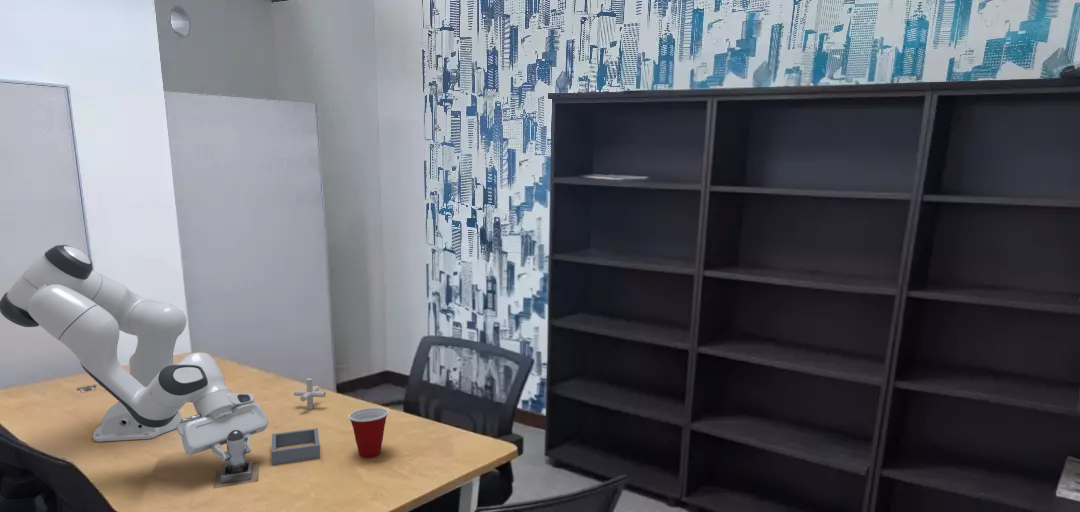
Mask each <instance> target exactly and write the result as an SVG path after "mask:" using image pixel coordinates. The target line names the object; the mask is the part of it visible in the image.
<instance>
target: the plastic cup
mask: <svg viewBox="0 0 1080 512" xmlns="http://www.w3.org/2000/svg"><path fill="white" fill-rule="evenodd" d="M388 415H389V409H388V408H384V407H366V408H365V407H364V408H361V409H360V408H359V409H357V410H354V411H352V412H351V413H349V414H348V416H347V417H348V420H350V422H351V426H352V430H353V434H354V439H355V443H356V446H357V452H358V455H359V456H360V457H361V458H364V459H371V458H375V457H377V456H379V455H380V454H381V451H382V444H383V440H384V432H385V427H386V420H387V417H388Z"/></svg>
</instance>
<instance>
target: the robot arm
mask: <svg viewBox="0 0 1080 512" xmlns="http://www.w3.org/2000/svg"><path fill="white" fill-rule="evenodd" d="M0 314H1V315H2V316H3V317H4V318H5V319H6V320H9V321H10V322H11V323H14V324H15V325H18V326H20V327H24V328H36V327H39V326H40V327H41V328H42V329H43V330H45V331H46V333H48V334H49V335H51V336H52V337H53V338H55V339H56V340H57V341H59V342H60V343H62V344H63V345H65V346H66V348H68V349H69V350H70V351H71V352H72V353H73V355H75V356H76V358H77V360H79V363H80V365H81V367H82V368H83V370H84V372H86V373H87V374H88V375H89V376H90V377H91V378H92V379H93V380H94V381H95V382H96V383H97V384H99V386H101V387H102V388H103V389H104V390H105V391H107V392H108V393H109V394H110V395H111V396H112V397H114V398H115V399H116V400H117V402H115V403H114V404H113V405H112V406H110V407H109V408H108V409H107V410H106V412H105V414H104V415H103V418H102V422H101V423H102V424H100V425H99V426H98V427H97V428H96V429H95V430H94V432H93V433H92V434H93V436H92V437H93V438H92V439H93V441H95V442H98V443H99V442H113V441H114V442H115V441H116V442H117V441H118V442H119V441H132V440H133V441H134V440H149V439H154V438H156V437H158V436H160V435H162V434H165V433H168V432H171V431H173V430H175V429H176V431H177V432H178V435H179V436H181V437H180V438H181V443H182V445H183V449H184V452H185V454H187V455H190V456H192V455H195V454H199V453H201V452H205V451H208V450H212V453H214V454H215V455H217V456H218V457H220V459H221V462H222V463H224V462H228V460H229V459H230V455H229V452H228V451H227V450H226V451H224V450H223V449H221V446H223V445H227V437H228V434H229V433H230V432H231V431H233V430H240V431H241V432H242V433H243V436H244V442H245V455H247V454H250V453H251V452H252V447H251V444H250V443H251V438H252V436H253V435H256V434H259V433H262V432H264V431H265V430H266V429H267V428H268V425H269V418H268V416H267V415H266V413H265V411H264V410H263V408H262V407H261V405H260V404H259V403H257V402H254V401H255V396H254V394H252V393H234V392H231V391H230V389H229V388H228V387H227V386H226V382H225V377H224V375H223V373H222V370H221V368H220V367H219V365H218V363H217V362H216V360H215V359H214V358H213V357H212V356H211V355H210V354H208V353H207V352H194V353H190V354H188V355H187V354H186V355H185V356H184V357H183V358H182V359H181V360H180V361H178V363H175V364H174V352H175V351H174V350H175V347H176V342H177V339H178V337H179V336H180V335H182V333H183V332H184V330H185V329H186V327H187V317H186V314H185V313H184V311H183V310H182V309H180V308H179V307H177V306H175V305H173V304H171V303H168V302H164V301H158V300H153V299H150V298H146V297H142V296H141V295H139V294H137V293H134V292H133V291H131V290H130V289H129V288H128V287H127V286H126V285H124V284H123V283H120V282H117V281H115V280H114V279H112V278H109V277H107V276H105V275H104V274H101V273H100V272H97V271H95V270H94V268H93V262H92V260H91V259H90V258H89V257H88V256H87V255H86V253H84V252H83V251H82V250H80V249H78V248H75V247H72V246H71V245H70V246H69V245H67V244H59V245H54V246H52V247H51V248H50V249H48V250H47V251H45V252H44V255H42V256H41V257H40V258H38V259H37V260H36V261H35V262H33V263H32V264H31V265H30V266H29V267H28V268H27V269H26V270H25V271H23V274H22V275H21V276H20V277H19V278H18V279H17V281H15V283H14V284H13V285H12V286H11V288H9V291H7V292H5V293H4V294H3V296H2V298H1V299H0ZM120 332H123V333H125V334H128V335H132V336H136V338H137V344H136V349H135V351H134V353H133V354H132V355H131V356H130V357H129V361H128V364H129V365H128V366H129V372H128V371H127V370H126V369H125V368H124V367H123V366H122V365H121V363H120V361H119V358H118V346H119V345H118V344H119V340H120ZM187 403H192V405H193V407H194V409H195V412H196V415H193V416H189V417H185V418H182V416H181V413H180V410H181V409H182V408H183V407H184V405H185V404H187Z"/></svg>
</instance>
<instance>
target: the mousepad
mask: <svg viewBox="0 0 1080 512" xmlns="http://www.w3.org/2000/svg"><path fill="white" fill-rule="evenodd" d="M92 388H94V390H92ZM96 388H97V384H91V385H85V386H79V387H76V389H77V391H80V393H81V394H83V393H85V392H86V393H88V392H89V393H90V391H92V392H95V391H97V390H96ZM81 390H84V391H81Z"/></svg>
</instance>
